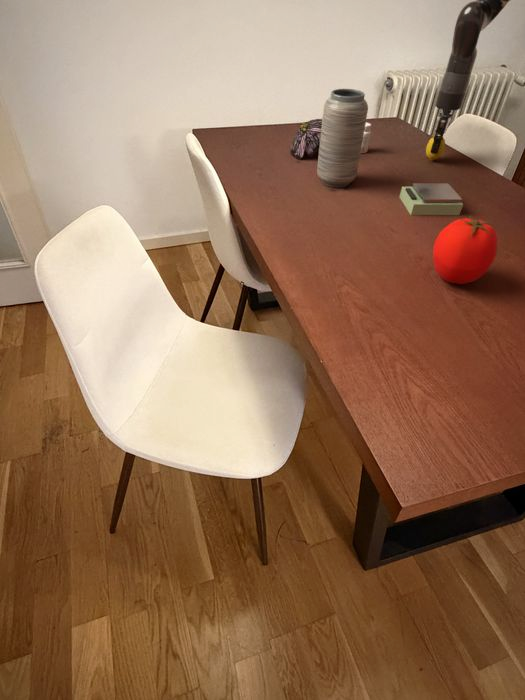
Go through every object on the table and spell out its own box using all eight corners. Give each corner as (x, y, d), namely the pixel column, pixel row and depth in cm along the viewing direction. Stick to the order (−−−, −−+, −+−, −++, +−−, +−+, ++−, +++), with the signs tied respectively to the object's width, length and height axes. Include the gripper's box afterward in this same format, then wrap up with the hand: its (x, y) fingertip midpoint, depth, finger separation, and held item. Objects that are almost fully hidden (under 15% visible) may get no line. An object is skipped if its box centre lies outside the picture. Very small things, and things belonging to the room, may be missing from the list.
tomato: (491, 278, 85) (520, 220, 76) (464, 302, 79) (492, 243, 70) (441, 256, 91) (462, 200, 82) (412, 278, 85) (432, 219, 76)
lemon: (423, 163, 132) (430, 136, 126) (422, 157, 135) (429, 131, 130) (440, 164, 131) (449, 138, 125) (439, 158, 134) (447, 132, 129)
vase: (312, 186, 117) (321, 96, 101) (320, 171, 125) (329, 85, 109) (351, 192, 115) (367, 100, 98) (357, 176, 123) (373, 89, 106)
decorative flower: (287, 115, 134) (331, 103, 129) (296, 146, 144) (337, 136, 138) (282, 141, 127) (329, 130, 122) (292, 172, 137) (336, 163, 131)
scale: (444, 197, 113) (448, 184, 111) (459, 215, 106) (464, 202, 103) (399, 197, 113) (402, 184, 110) (410, 215, 105) (414, 202, 103)
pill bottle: (359, 147, 141) (364, 121, 135) (370, 151, 138) (375, 124, 133) (350, 150, 139) (354, 123, 133) (361, 154, 136) (366, 127, 130)
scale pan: (447, 186, 111) (448, 183, 110) (461, 202, 104) (462, 199, 103) (411, 186, 110) (412, 183, 110) (423, 202, 103) (424, 199, 103)
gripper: (464, 96, 113) (444, 159, 125) (467, 85, 122) (448, 144, 134) (437, 93, 115) (420, 155, 127) (442, 83, 124) (425, 141, 136)
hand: (434, 149), depth 131 cm, fingers closed on lemon, 5 cm apart
